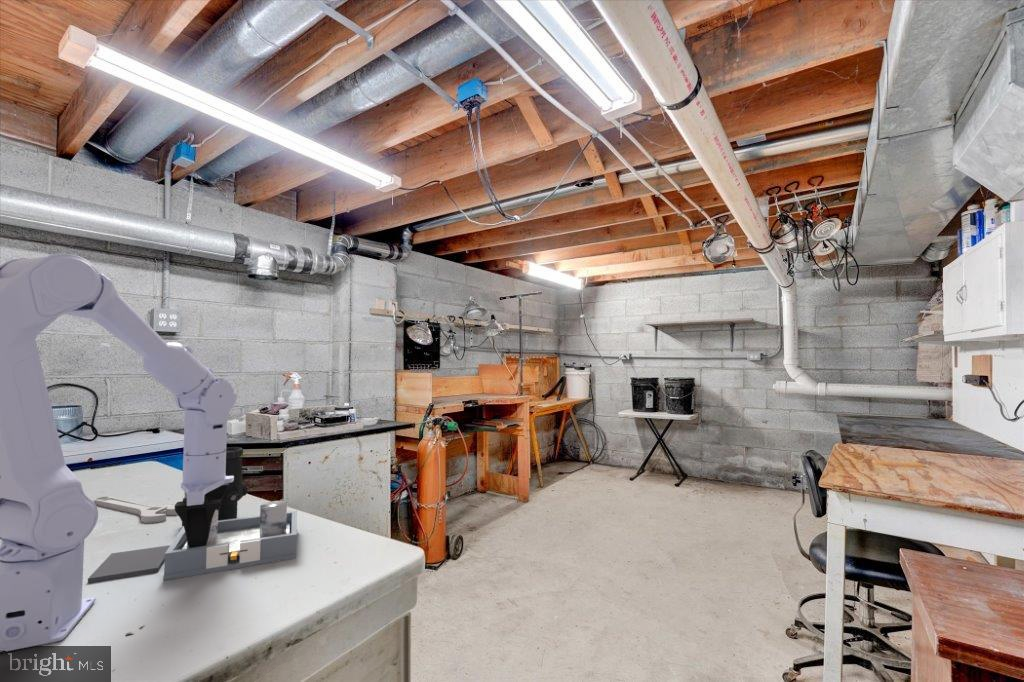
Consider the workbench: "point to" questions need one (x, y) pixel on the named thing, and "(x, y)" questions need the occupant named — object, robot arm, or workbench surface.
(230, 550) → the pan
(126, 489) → the workbench surface
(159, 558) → the rubber mat
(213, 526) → the cylinder
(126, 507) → the adjustable wrench
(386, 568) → the workbench surface
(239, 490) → the scope
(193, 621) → the workbench surface
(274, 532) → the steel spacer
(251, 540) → the tray
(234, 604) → the workbench surface
